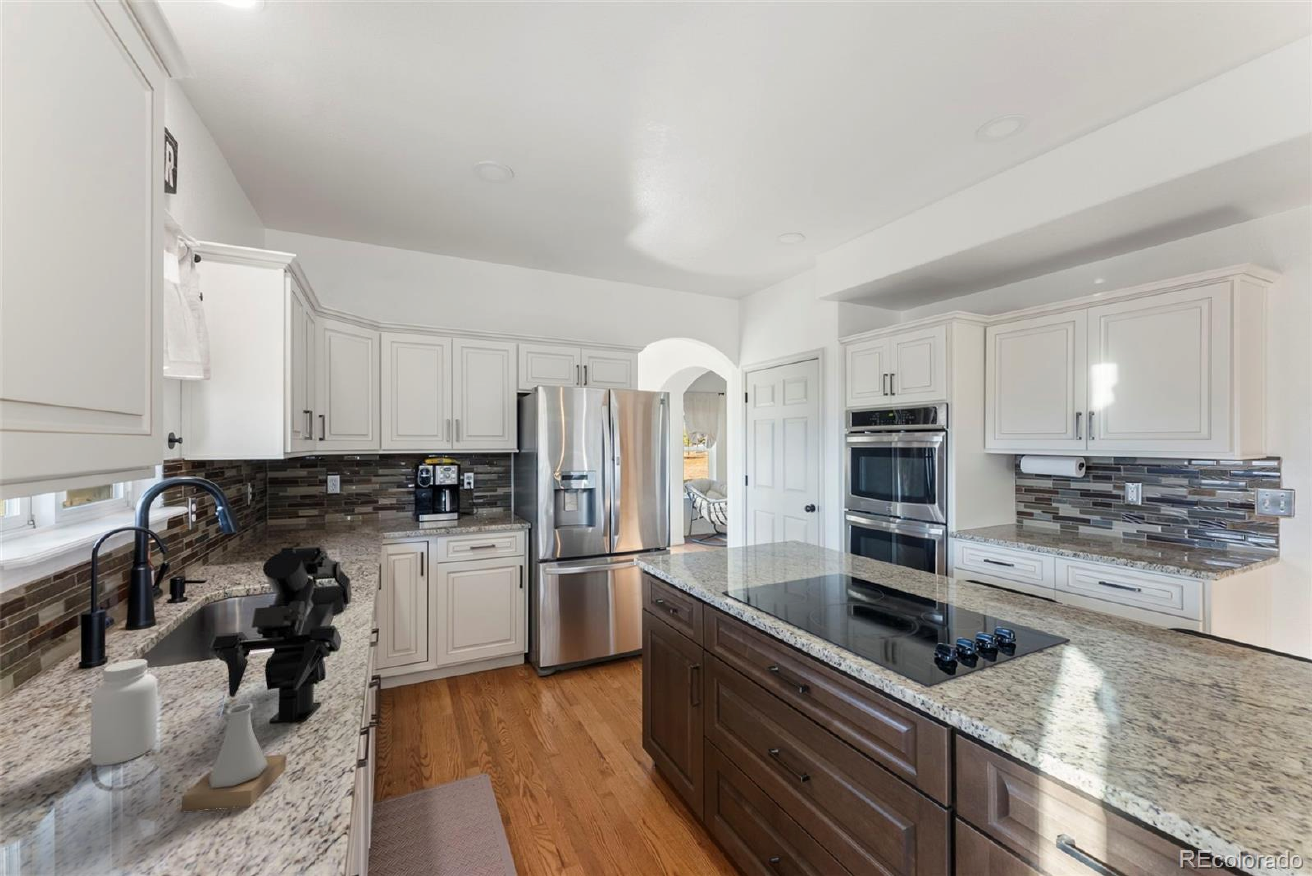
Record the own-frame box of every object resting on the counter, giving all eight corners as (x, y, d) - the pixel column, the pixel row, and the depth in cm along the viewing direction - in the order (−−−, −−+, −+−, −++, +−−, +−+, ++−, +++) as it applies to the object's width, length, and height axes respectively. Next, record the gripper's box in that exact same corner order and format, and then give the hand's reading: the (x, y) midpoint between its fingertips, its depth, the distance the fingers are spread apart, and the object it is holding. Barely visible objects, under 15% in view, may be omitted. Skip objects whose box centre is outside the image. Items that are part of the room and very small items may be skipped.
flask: (264, 779, 78) (264, 712, 78) (201, 795, 75) (202, 725, 75) (272, 755, 84) (272, 693, 85) (214, 768, 81) (215, 703, 81)
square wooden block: (224, 777, 83) (224, 758, 83) (285, 773, 85) (285, 754, 85) (181, 817, 74) (182, 795, 75) (250, 811, 76) (251, 790, 76)
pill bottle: (90, 753, 89) (93, 664, 89) (156, 735, 94) (158, 651, 95) (87, 774, 83) (90, 679, 83) (156, 753, 89) (159, 665, 89)
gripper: (215, 588, 90) (176, 681, 80) (337, 582, 95) (314, 668, 85) (238, 617, 98) (205, 705, 88) (349, 610, 103) (330, 692, 93)
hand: (263, 692), depth 88 cm, fingers open, 9 cm apart
